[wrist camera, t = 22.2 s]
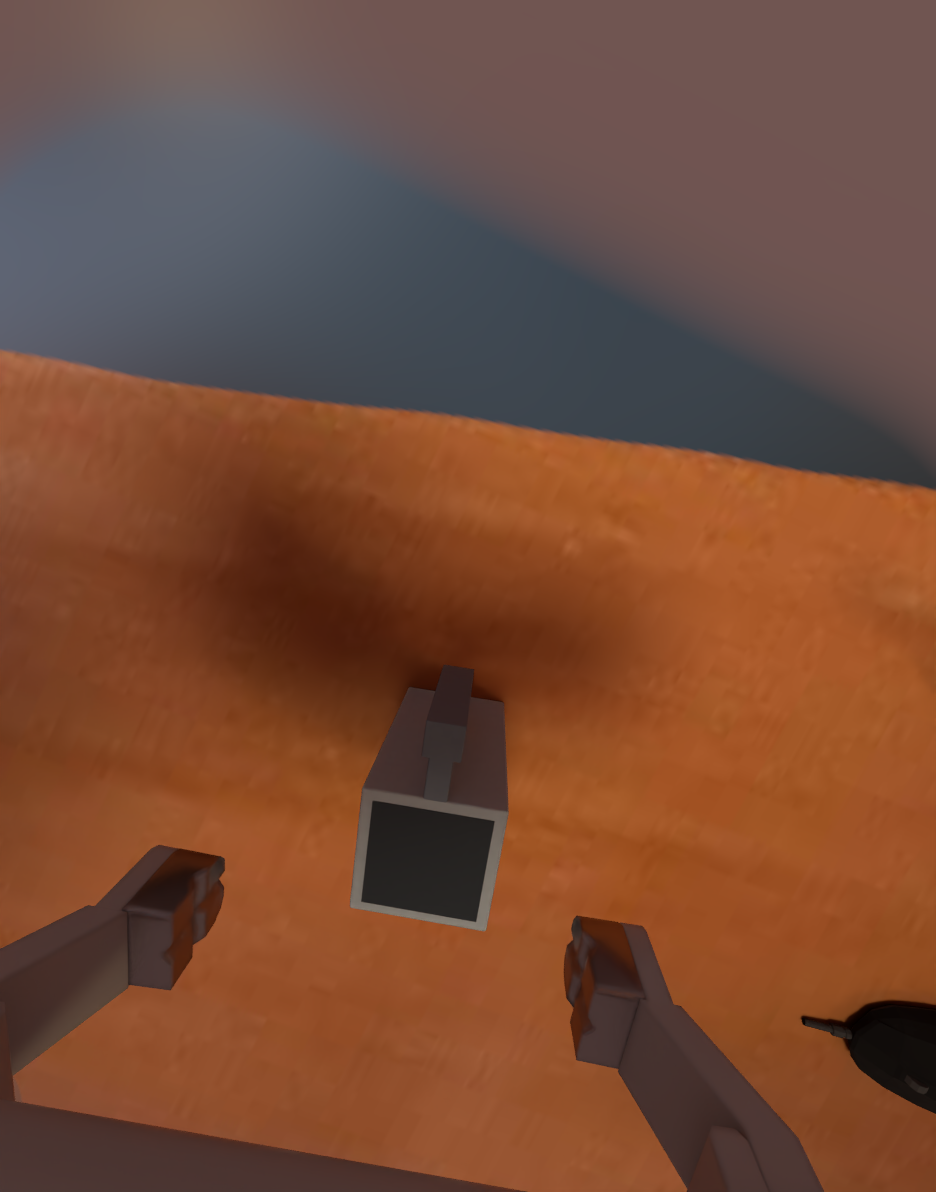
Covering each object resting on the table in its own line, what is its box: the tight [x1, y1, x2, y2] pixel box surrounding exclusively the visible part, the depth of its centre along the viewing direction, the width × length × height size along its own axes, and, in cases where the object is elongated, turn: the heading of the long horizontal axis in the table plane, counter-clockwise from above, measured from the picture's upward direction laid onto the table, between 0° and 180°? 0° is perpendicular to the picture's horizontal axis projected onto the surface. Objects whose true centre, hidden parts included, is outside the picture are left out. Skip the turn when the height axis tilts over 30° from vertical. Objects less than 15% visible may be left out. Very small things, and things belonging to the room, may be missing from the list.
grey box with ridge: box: [350, 665, 509, 931], centre depth 23 cm, size 10×6×9 cm
